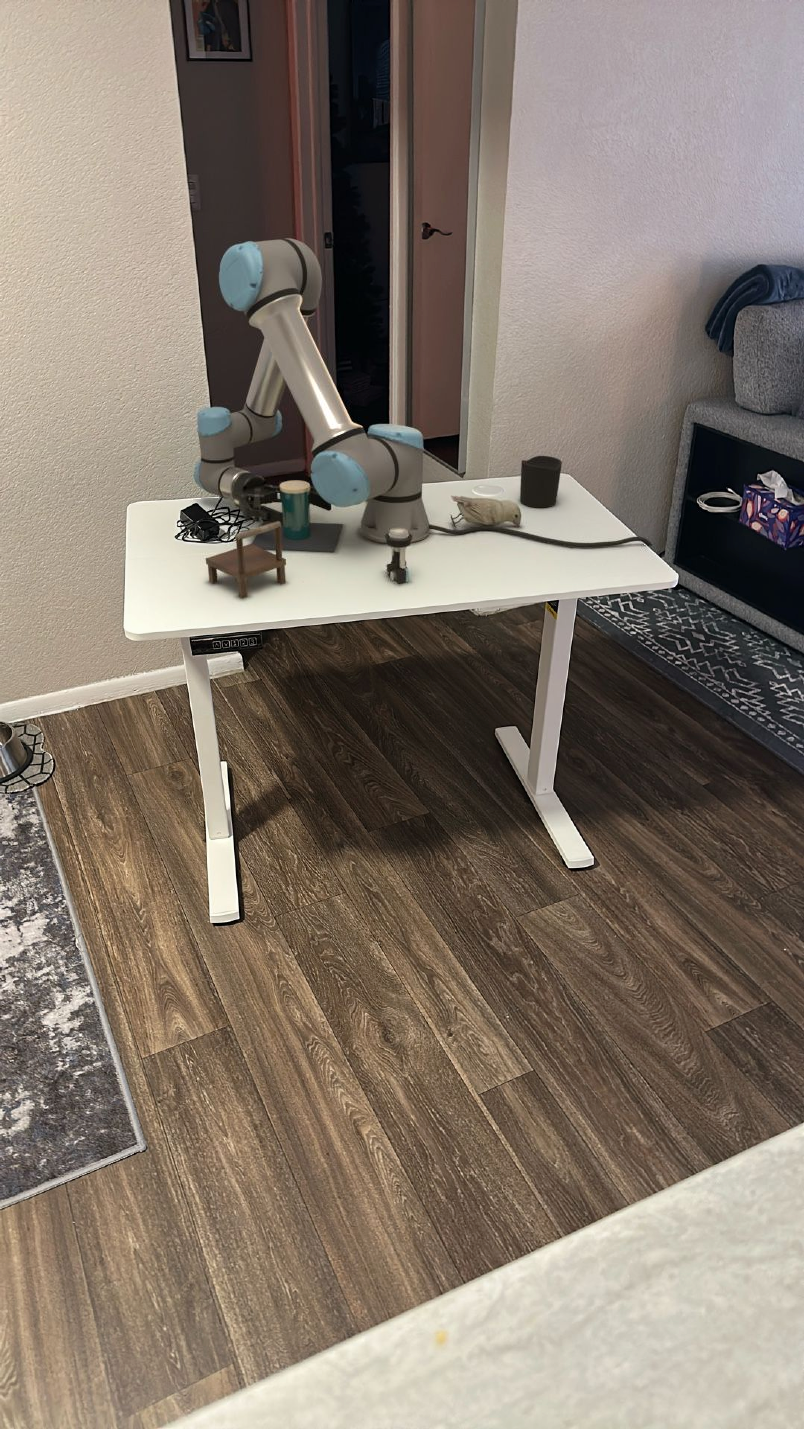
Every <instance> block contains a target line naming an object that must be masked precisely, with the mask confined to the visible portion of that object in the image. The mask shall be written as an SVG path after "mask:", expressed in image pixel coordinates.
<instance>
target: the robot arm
mask: <svg viewBox="0 0 804 1429" xmlns="http://www.w3.org/2000/svg"><path fill="white" fill-rule="evenodd" d="M218 282H219V288H220V294H221V295H222V298H223V300H224V302H226V304H227V306H229V307H230V308H233V310H235V311H238V312H243V313H244V316H245V318H246V319H247V321H248V324H249V325H250V326H251V327H252V328H253V327H254V328H256V329H259V330H260V331H261V333H262V335H263V337H264V339H263V342H262V345H261V348H260V352H259V355H258V359H257V362H256V365H255V369H254V373H253V375H252V379H251V382H250V386H249V388H248V393H247V396H246V400H245V402H244V406H243V409H242V410H239V411H234V412H231V411H230V410H229V408H225V407H222V406H212V407H205V408H204V407H203V408H201V409H200V410H199V411H198V412H197V420H196V424H197V429H196V430H197V434H198V441H199V451H200V460H199V461H198V462H196V463H195V467H194V470H193V479H194V482H195V484H196V485H197V486H198V487H199V488H200V489H201V490H204V491H206V492H207V493H209V494H211V495H215V496H219V497H221V498H224V499H226V500H228V501H231V502H234V507H235V508H238V509H239V511H240V512H241V514H242V516H243V517H244V519H245V520H247V521H249V520H251V519H252V518H253V520H254V522H255V523H258V522H261V520H263V521H269V522H272V523H274V522H277V521H279V522H280V523H281V526H283V513H282V511H279V510H276V509H274V508H271V507H269V506H266V505H267V504H273V503H279V504H282V502H281V490H280V484H281V483H283V482H284V481H279V482H278V485H272V484H268V483H267V481H266V480H265V479H264V478H263V477H262V476H260V475H258V474H256V473H253V472H250V471H248V470H245V469H242V468H239V467H236V466H235V450H234V449H236V448H238V447H243V446H246V445H250V444H253V443H257V442H261V441H266V440H268V439H271V438H272V437H275V436H276V435H278V434H279V433H280V432H281V431H282V429H283V423H282V422H283V421H282V420H283V417H282V414H281V412H280V410H279V408H280V404H281V401H282V399H283V395H284V392H285V389H286V387H288V389H289V392H290V393H291V396H292V398H293V400H294V402H295V405H296V406H297V409H298V411H299V413H300V414H301V416H302V419H303V421H304V423H305V425H306V427H307V429H308V431H309V433H310V436H311V437H312V440H313V443H312V447H311V450H310V453H311V455H312V458H313V460H312V462H311V465H310V471H311V473H310V479H311V482H312V485H310V490H309V499H310V505H312V506H314V507H317V508H320V509H323V510H325V511H328V512H330V511H332V505H333V506H334V507H336V508H337V507H338V508H348V507H351V506H358V505H361V504H363V503H364V502H366V501H367V502H366V505H365V508H364V511H363V515H362V517H361V519H360V520H361V521H360V534H361V535H362V536H363V538H366V539H367V540H369V541H371V542H376V543H380V544H386V539H385V535H386V534H387V533H389V532H390V530H391V529H393V528H404V529H407V530H408V533H410V534H412V536H413V537H412V540H411V544H412V543H416V542H419V541H422V540H424V539H426V537H428V536H429V535H430V530H434V531H438V532H442V533H444V534H448V535H465V534H470V533H472V532H479V531H494V532H501V533H505V534H509V535H512V536H513V535H514V536H519V537H522V538H527V539H531V540H534V541H538V542H543V543H548V544H552V545H558V546H562V547H563V546H565V547H573V548H601V547H602V548H603V547H614V546H620V545H624V544H629V543H633V542H640V543H644V544H645V545H646V546H648V547H651V546H653V544H652V542H651V541H650V540H649V539H647V538H646V537H642V536H630V537H627V538H623V539H618V540H611V541H598V542H577V541H576V542H575V541H566V540H561V539H555V538H549V537H545V536H541V535H536V534H532V533H529V532H524V531H522V530H521V531H520V530H515V529H511V528H506V527H502V526H498V525H496V526H482V525H475V526H471V527H468V528H464V529H456V530H455V529H450V528H447V527H443V526H439V525H435V524H434V525H433V524H430V521H429V518H428V513H427V511H426V508H425V505H424V501H423V474H424V472H423V471H424V470H423V468H424V451H425V448H424V436H423V433H421V432H420V430H419V429H417V428H413V427H410V426H406V425H400V424H390V423H377V424H372V425H370V426H369V427H368V431H367V432H366V431H365V429H364V427H363V426H362V425H360V424H358V423H356V422H353V421H352V419H351V417H350V415H349V413H348V410H347V409H346V407H345V404H344V402H343V400H342V398H341V396H340V393H339V392H338V389H337V387H336V384H335V383H334V381H333V378H332V376H331V374H330V373H329V370H328V367H327V365H326V363H325V362H324V359H323V357H322V355H321V352H320V350H319V349H318V347H317V344H316V342H315V340H314V338H313V336H312V334H311V331H310V329H309V327H308V325H307V322H308V319H309V318H310V317H312V316H314V315H315V314H316V310H317V307H318V305H319V302H320V298H321V294H322V287H323V286H322V285H323V283H322V282H323V278H322V269H321V266H320V263H319V261H318V258H317V256H316V255H315V254H314V252H313V251H312V249H311V248H310V247H309V246H308V245H306V244H305V243H304V242H302V241H300V240H297V239H294V238H288V237H287V238H280V239H272V240H271V239H270V240H261V241H251V240H249V241H245V242H243V243H237V244H234V245H232V246H230V247H229V248H227V250H226V251H225V252H224V254H223V256H222V258H221V261H220V265H219V272H218ZM278 494H279V496H278Z"/></svg>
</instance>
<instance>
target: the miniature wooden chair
mask: <svg viewBox="0 0 804 1429" xmlns="http://www.w3.org/2000/svg"><path fill="white" fill-rule="evenodd" d="M273 529H274V532H275V549H276V550H275V553H273V552H270V551H269V550H264V549H261V548H259V547H257V546H255V545H252V543H248V544H246V545H244V540H245V539H249V538H251V537H255V536H256V535H257V534H261V533H264V532H267V531H270V530H273ZM234 538H235V544H236V548H233V549H230V550H227V551H223V552H221V553H218V554H216V555H212V556H209V557H205V564H206V565H207V571H208V580H209V581H208V582H209V583H211V584H212V585H214V584H217V583H219V580H218V571H220V572H221V573H224V574H226V575H228V576H229V577H232V578H234V579H236V582H237V594H238V598H241V599H244V598H248V587H247V579H250V578H252V577H255V576H258V575H261V574H264V573H267V572H269V571H272V570H276V584H278V585H283V584H286V582H287V581H286V566H287V560H286V558H284V557H283V551H282V544H281V523H280V522H279V521H277V522H274V523H271V524H267V525H264V526H261V525H260V526H258V527H254V528H251V529H248V530H245V531H241V532H238V533H237V534H236V533H235V534H234Z"/></svg>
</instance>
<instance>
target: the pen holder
mask: <svg viewBox="0 0 804 1429" xmlns="http://www.w3.org/2000/svg"><path fill="white" fill-rule="evenodd" d="M520 463H521V464H520V466H521V467H520V468H521V469H520V487H519V488H520V490H519V492H520V493H519V500H520V502H521V504H522V505H524V506H526V507H530V508H534V509H546V508H551V507H554V506H555V505H556V503H557V499H558V493H559V485H560V479H561V473H562V472H561V471H562V466H563V465H562V464H563V462H562V460H560V459H559V458H557V457H554V456H548V455H536V456H533V457H531V458H529V459H527V460H525V459H522V460H521V462H520Z"/></svg>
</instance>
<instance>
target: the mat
mask: <svg viewBox="0 0 804 1429" xmlns="http://www.w3.org/2000/svg"><path fill="white" fill-rule="evenodd" d="M271 523H272V522H269V521H267V520H263V521H262V523H261V525H260V527H261V526H264V525H267V524H271ZM310 524H311V536H310V537H309V538H307V539H303V540H290V539H286V538H285V537H284V536H283V526H281V544H282V552H284V551H285V552H288V551H289V552H312V553H313V552H314V553H335V551H336V547H337V544H338V541H339V538H340V535H341V532H342V529H343V525H344V524H343V523H330V522H329V523H327V522H310ZM251 544H252V545H255V546H257V547H259V548H261V549H264V550H266V551H276V549H275V532H274V529H273V530H270V531H267V532H264V533H261V534H257V535H254V538H253V540H252V541H251Z"/></svg>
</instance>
